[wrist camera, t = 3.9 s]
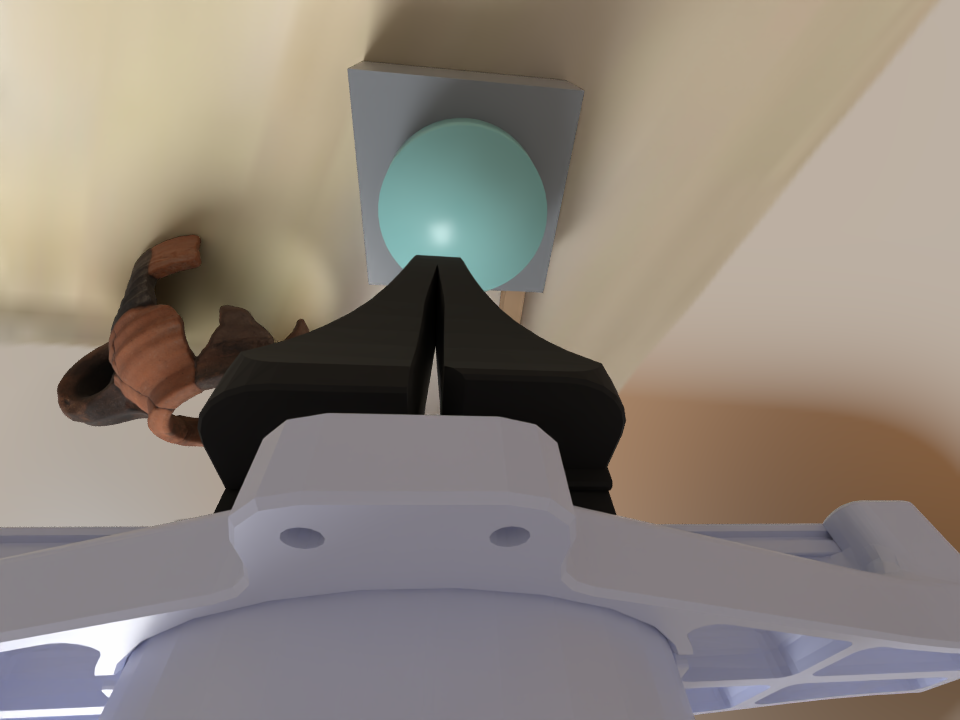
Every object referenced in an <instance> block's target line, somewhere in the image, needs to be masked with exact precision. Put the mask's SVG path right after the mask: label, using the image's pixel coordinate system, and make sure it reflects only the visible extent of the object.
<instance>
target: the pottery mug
mask: <svg viewBox="0 0 960 720" xmlns="http://www.w3.org/2000/svg"><path fill="white" fill-rule="evenodd" d="M200 243H201V239H200V237H199V236H196V235H188V236H180V237H176V238H173V239H170V240H166V241H164V242H162V243H160V244H158V245H156V246H154V247H153V248H151V249H149V250H147V251H146V252H145V253H143V254H142V256H141V257H140V258H139V259H138V260H137V261H136V263H135V265H134V268H133V270H132V275H131V278H130V280H129V283H128V285H127V289H126V291H125V296H124V298H123V299H122V301H121V305H120V308H119V310H118V313H117V315H116V317H115V319H114V322H113V325H112V328H111V335H110V338H109V342H108V343H106V344H104V345H102V346H100V347H98V348H96V349H95V350H93V351H92V352H90V353H89V354H87V355H86V356H84V357H83V358H81V359H80V360H79V361H78V362H77V363H75V364H74V365H73V366H72V368H70V369H69V370H68V371H67V373H66V374H65V375H64V377H63V378H62V380H61V381H60V383H59V385H58V388H57V394H58V403H59V406H60V408H61V410H62V412H63V413H64V414H65V415H66V416H67V417H68V418H70V419H71V420H73V421H77V422H84V423H86V424H88V425H92V426H107V425H114V424H119V423H122V422H126V421H130V420H134V419H139V418H148V427H149V429H150V430H151V431H152V432H153V433H154V434H155V435H156V436H157V437H159V438H161V439H163V440H165V441H167V442H170V443H174V444H179V445H183V446H203V444H202V442H201V439H200V435H199V432H198V429H197V427H198V420H199V418H192V417H186V416H181V415H178V416H175V415H173V414H172V413H173V412H174V410H175V408H177V407H178V406H179V405H181V404H182V403H183V402H185V401H187V400H188V399H190V398H192V397H193V396H195V395H197V394H200V393H202V392H203V391H204V390H209V389H213V388H216V387H217V385H218V383H219V382H220V380H221V379H222V377H223V375H224V374H225V372H226V371H227V369H228V368H229V367H230V365H231V364H232V363H233V361H234V360H235V359H236V357H237V356H238V355H239V353H240V352H241V351H246V350H251V349H254V348H258V347H262V346H266V345H270V344H273V343H274V340H273V337H272V336H271V335H270V333H269V332H268V331H267V330H266V329H265V328H264V327H263V326H261V325H260V324H259V323H257V322H256V321H255V320H254V318H253V317H252V315H251V314H250V313H249V312H248V311H247V310H245V309H243V308H239V307H234V306H230V305H225V306H221V307H220V311H219V312H220V315H219V317H220V318H219V322H220V326H219V327H218V328H217V329H216V330H215V331H214V333H213V334H212V336H211V338H210V340H209V342H208V344H207V345H206V347H205V348H204V349H203V350H202V352H201V353H200V354H199V356H197V357H196V356H195V355H194V353H193V352H192V350H191V349H190V347H189V345H188V342H187V340H186V336H185V330H184V322H183V320H182V318H181V316H180V315H178V314H177V312H176V311H175V309H174V308H172V307H171V306H169V305H161V304H160V305H157V299H156V296H155V291H154V287H155V285H156V282H157V280H158V279H160V278H163V277H165V276H168V275H170V274H174V273H176V272H180V271H184V270H187V269H192V268H197V267H199V266H200V265H201V257H200V253H199V251H198V250H199V248H200ZM308 332H309V329H308V327H307V325H306V323H305V321H304V320H303V319H299V320H298V321H297V324H296V327H295V328H294V330H293V332H292V333H291V334H290V335H289V336H288V337H287V338H286V339H285V340H288V339H291V338H294V337H297V336H300V335H302V334H305V333H308ZM203 447H204V446H203Z"/></svg>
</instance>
